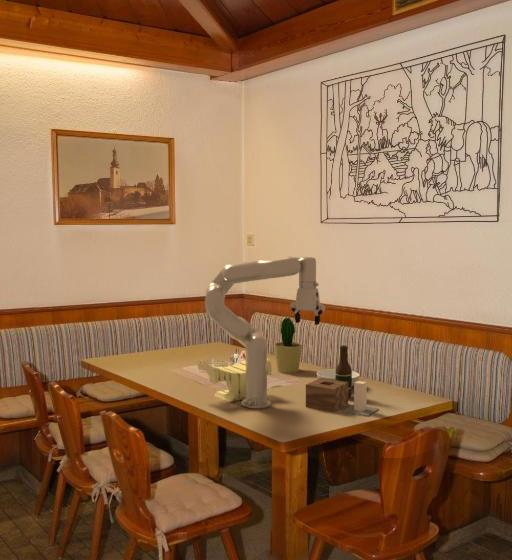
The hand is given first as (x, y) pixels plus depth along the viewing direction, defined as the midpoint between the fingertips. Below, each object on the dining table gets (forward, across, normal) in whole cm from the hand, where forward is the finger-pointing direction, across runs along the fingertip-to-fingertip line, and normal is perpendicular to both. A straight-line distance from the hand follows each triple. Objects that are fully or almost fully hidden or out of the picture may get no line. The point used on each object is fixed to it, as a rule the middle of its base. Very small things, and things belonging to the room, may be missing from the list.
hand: (307, 323), depth 292 cm
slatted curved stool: (+37, +33, +9) cm, 50 cm away
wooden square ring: (+36, -9, -2) cm, 37 cm away
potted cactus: (+36, +39, -51) cm, 74 cm away
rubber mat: (+36, -25, -2) cm, 44 cm away
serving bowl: (+37, +1, -34) cm, 50 cm away
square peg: (+36, -25, -2) cm, 44 cm away
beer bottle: (+36, -9, -19) cm, 42 cm away
